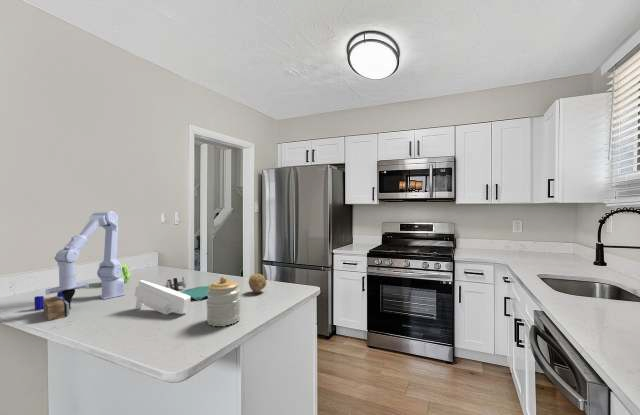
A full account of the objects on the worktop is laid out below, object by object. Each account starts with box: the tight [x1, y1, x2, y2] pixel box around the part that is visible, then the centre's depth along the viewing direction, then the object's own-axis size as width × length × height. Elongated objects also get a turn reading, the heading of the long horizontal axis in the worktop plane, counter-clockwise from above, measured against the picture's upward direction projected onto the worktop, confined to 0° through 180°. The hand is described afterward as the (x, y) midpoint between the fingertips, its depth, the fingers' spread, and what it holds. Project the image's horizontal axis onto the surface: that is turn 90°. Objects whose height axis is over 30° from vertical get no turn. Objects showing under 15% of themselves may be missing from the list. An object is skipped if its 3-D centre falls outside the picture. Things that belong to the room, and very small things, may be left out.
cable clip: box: [34, 292, 65, 311], centre depth 142 cm, size 12×4×6 cm, turn 171°
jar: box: [205, 276, 242, 327], centre depth 119 cm, size 13×13×18 cm
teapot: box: [120, 263, 131, 284], centre depth 180 cm, size 16×14×13 cm
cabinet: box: [42, 295, 66, 322], centre depth 129 cm, size 5×16×6 cm, turn 48°
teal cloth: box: [180, 285, 210, 301], centre depth 159 cm, size 20×30×2 cm, turn 152°
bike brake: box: [162, 276, 187, 291], centre depth 165 cm, size 14×7×20 cm
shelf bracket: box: [134, 279, 192, 315], centre depth 131 cm, size 6×27×14 cm, turn 71°
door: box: [59, 297, 72, 316], centre depth 132 cm, size 2×16×5 cm, turn 50°
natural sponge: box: [248, 273, 267, 294], centre depth 157 cm, size 9×9×10 cm
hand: (68, 306), depth 133 cm, fingers closed
